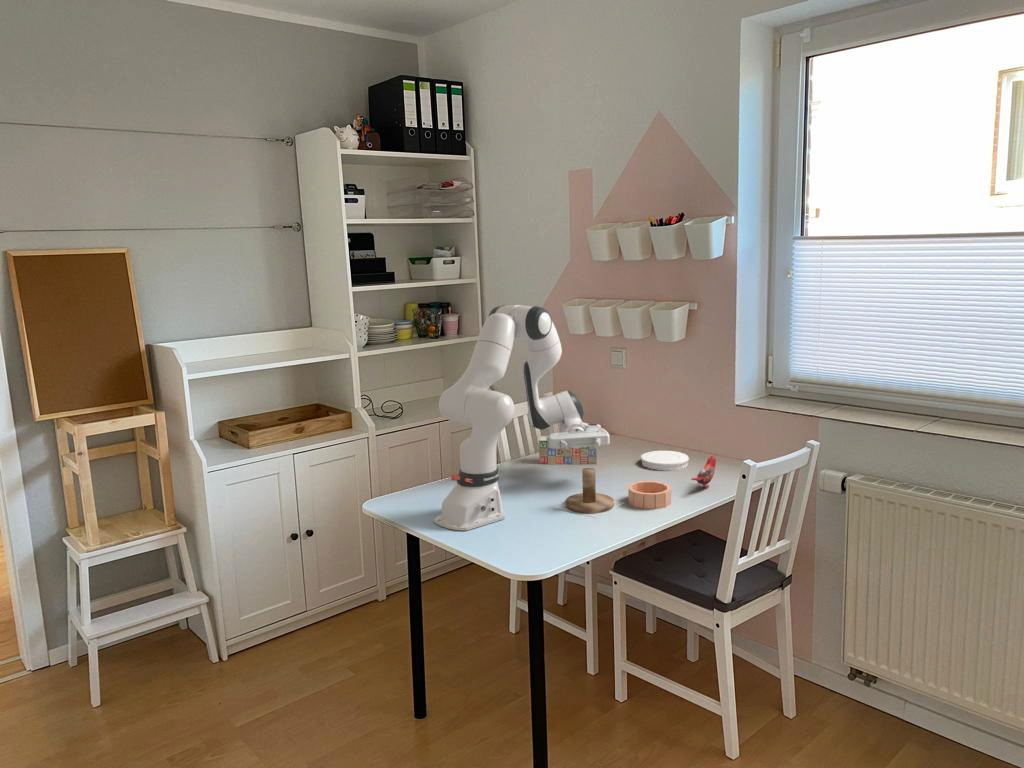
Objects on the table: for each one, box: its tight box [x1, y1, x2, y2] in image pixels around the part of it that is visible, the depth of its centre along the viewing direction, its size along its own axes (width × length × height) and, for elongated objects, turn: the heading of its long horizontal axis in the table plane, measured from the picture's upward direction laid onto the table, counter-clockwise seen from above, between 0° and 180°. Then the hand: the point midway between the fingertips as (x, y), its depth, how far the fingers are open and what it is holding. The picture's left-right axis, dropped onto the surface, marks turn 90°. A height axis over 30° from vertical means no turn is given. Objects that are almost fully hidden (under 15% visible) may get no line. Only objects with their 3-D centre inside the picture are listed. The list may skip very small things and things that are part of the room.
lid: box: [640, 450, 690, 471], centre depth 284 cm, size 17×20×3 cm
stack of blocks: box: [538, 435, 598, 465], centre depth 289 cm, size 21×6×12 cm, turn 83°
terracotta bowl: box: [627, 480, 672, 510], centre depth 243 cm, size 13×13×5 cm
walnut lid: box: [564, 467, 615, 514], centre depth 241 cm, size 15×15×12 cm
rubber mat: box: [553, 500, 626, 519], centre depth 242 cm, size 16×16×1 cm
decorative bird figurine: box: [690, 455, 717, 490], centre depth 252 cm, size 3×18×10 cm, turn 141°
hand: (582, 445), depth 251 cm, fingers open, 8 cm apart
